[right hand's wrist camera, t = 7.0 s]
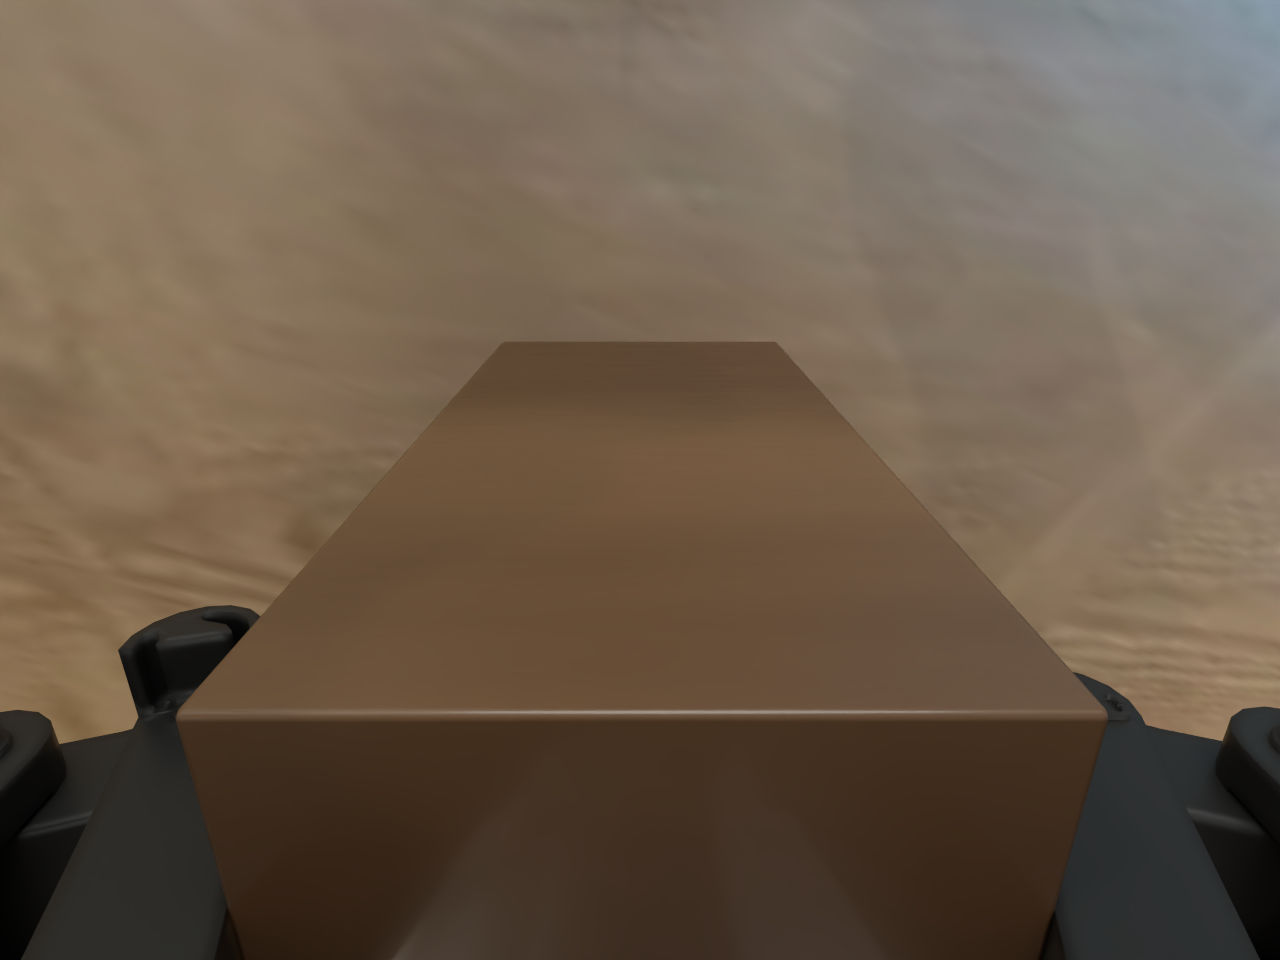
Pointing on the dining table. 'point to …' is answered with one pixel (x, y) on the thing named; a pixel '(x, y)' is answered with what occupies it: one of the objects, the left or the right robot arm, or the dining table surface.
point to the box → (641, 694)
